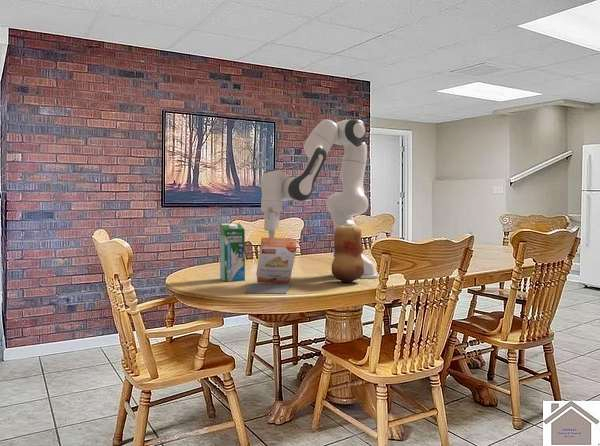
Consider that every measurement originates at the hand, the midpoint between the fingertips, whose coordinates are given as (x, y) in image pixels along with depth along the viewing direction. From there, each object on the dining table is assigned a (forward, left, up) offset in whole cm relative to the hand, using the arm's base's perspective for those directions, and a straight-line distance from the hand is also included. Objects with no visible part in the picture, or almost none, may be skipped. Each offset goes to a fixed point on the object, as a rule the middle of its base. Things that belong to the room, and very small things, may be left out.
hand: (271, 240), depth 209 cm
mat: (0, +12, -18) cm, 22 cm away
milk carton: (+19, -10, -19) cm, 28 cm away
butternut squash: (-32, -5, -19) cm, 37 cm away
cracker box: (0, -1, -17) cm, 17 cm away
